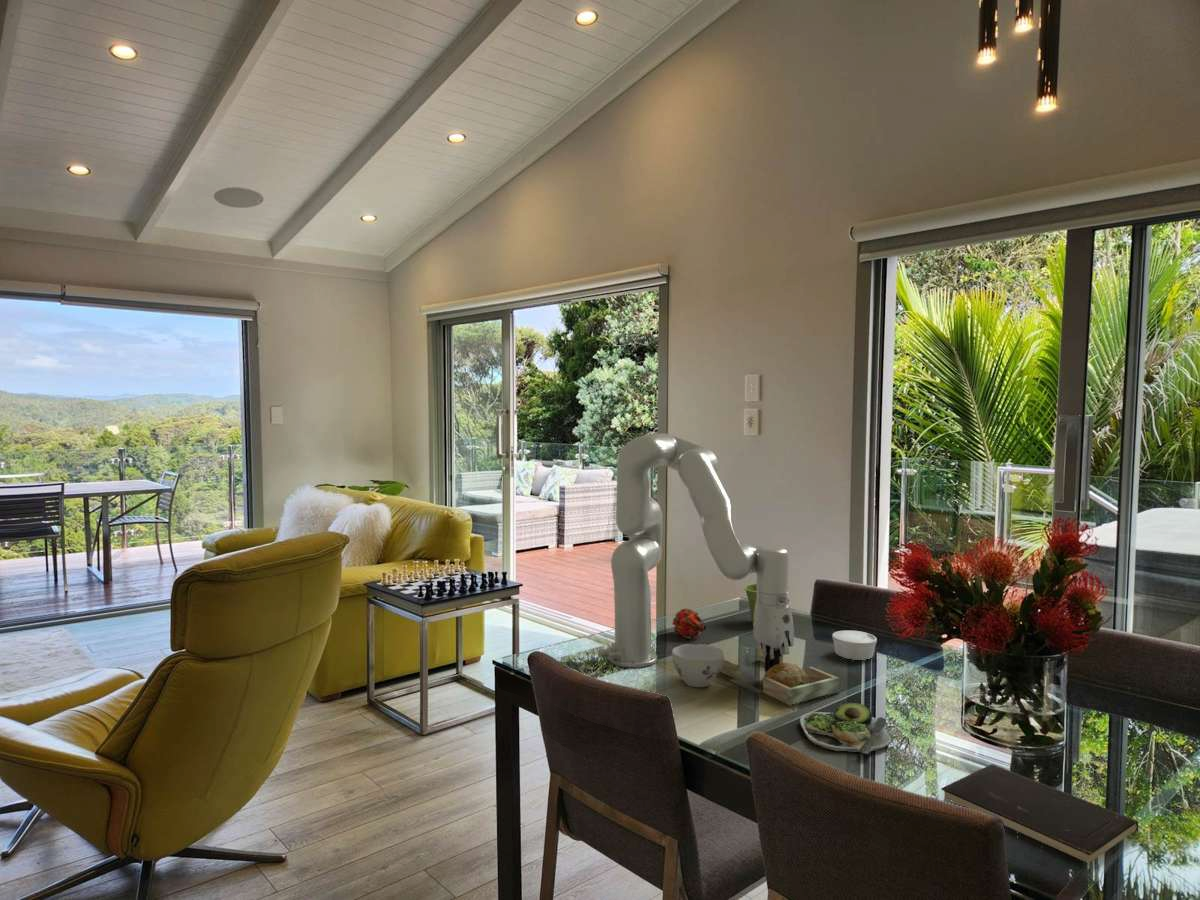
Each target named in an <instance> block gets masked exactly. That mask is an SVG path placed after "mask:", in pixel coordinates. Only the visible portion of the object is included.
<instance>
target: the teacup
mask: <svg viewBox="0 0 1200 900" xmlns="http://www.w3.org/2000/svg"><path fill="white" fill-rule="evenodd" d="M671 657H672V662H673V666H674V668H675V670H676V673H677V674H678V676H679V677H680V679H682V680H683V681H684V683H685V684H686V685H687V686H689V687H691V688H692V687H693V688H705V687H709V686H710V685H711V683H713V682H714V680H715V679H716V678H718V676H719V674H720V673H721V672H720V670H721V668H722V665H723V660H724V658H725V651H724V650H723V649H721V648H720V647H716V646H714V645H709V644H700V643H699V644H692V643H691V644H682V645H679V646H676V647H673V648H672V649H671Z"/></svg>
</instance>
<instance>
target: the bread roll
mask: <svg viewBox="0 0 1200 900" xmlns="http://www.w3.org/2000/svg"><path fill="white" fill-rule="evenodd" d="M798 665H799V664H798ZM798 665H797V664H796V663H790V662H783V663H780V664H776V665H774V666H772V667H771V668H770V669H769V670H768V671H767V672H765V671H764V675H763V677H762V682H763V678H764V677H768V678H770V679H772V680H775V681H777V682H779V683H781V684H783V685H786V686H788V687H790V688H792V687H796V686H800V685H804V684H808V683H810V682H809V680H808V677H807V675H806V674H807V673H806V672H805V671H804V670H803V668H801V667H800V666H798Z"/></svg>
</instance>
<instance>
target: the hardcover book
mask: <svg viewBox="0 0 1200 900" xmlns="http://www.w3.org/2000/svg"><path fill="white" fill-rule="evenodd" d="M941 791H943V792H944V796H943V798H944V799H946V800H948V799H949V800H948V801H951V800H952V801H953V803H955V804H957V805H959V806H961V805H963V806H966V807H969V808H973V809H976V810H979V811H982V812H985V813H988V814H992V815H995V816H997V817H998V818H1000V819H1001V820H1002V821H1003V823H1004V825H1003V826H1005V827H1007V828H1010V829H1012V830H1014V831H1016V832H1019V833H1021V834H1023V835H1025V836H1028V837H1030V838H1032V839H1034V840H1037V841H1038V842H1041V843H1043V844H1044V845H1048V846H1049V847H1052V848H1054V849H1057V850H1059V851H1061V852H1063V853H1065V854H1068V855H1070V856H1072V857H1074V858H1076V859H1077V860H1080V861H1083V862H1085V863H1087V864H1091V863H1092V862H1093V861H1094V860H1096V859H1097V858H1098V857H1100V856H1101V855H1104V853H1106V852H1107V851H1108V850H1110V849H1112V848H1113V847H1115V846H1116V845H1117V844H1118V843H1120V842H1122V841H1123V840H1124V839H1125V838H1127V837H1128V836H1130V835H1131V834H1133V833H1134V832H1136V831H1137V832H1139V822H1138V819H1137V820H1136V819H1134V818H1131V817H1129V816H1126V815H1124V814H1121V813H1119V812H1116V811H1114V810H1111V809H1109V808H1106V807H1104V806H1101V805H1098V804H1096V803H1093V802H1090V801H1088V800H1086V799H1083V798H1080V797H1078V796H1075V795H1073V794H1070V793H1067V792H1065V791H1062V790H1060V789H1057V788H1054V787H1052V786H1050V785H1047V784H1045V783H1042V782H1039V781H1036V780H1034V779H1031V778H1029V777H1026V776H1023V775H1021V774H1019V773H1016V772H1014V771H1011V770H1009V769H1006V768H1003V767H1001V766H998V765H995V764H993V763H991V764H989V765H987V766H985V767H983V768H980V769H978V770H977V771H974V772H972V773H970V774H967V775H966V776H964V777H962V778H960V779H957V780H956V781H953V782H951V783H949V784H948V785H945V786H943V787H941ZM952 801H951V802H952ZM963 806H962V807H963Z"/></svg>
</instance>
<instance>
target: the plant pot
mask: <svg viewBox="0 0 1200 900" xmlns="http://www.w3.org/2000/svg"><path fill="white" fill-rule="evenodd" d="M743 589H744V590H745V593H746V597H747V600H748V605H749V611H750V618H751V623H752V622H753V621H754V610H755V604H756V601H757V582H756V583H750V584H746V585H744V586H743Z"/></svg>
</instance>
